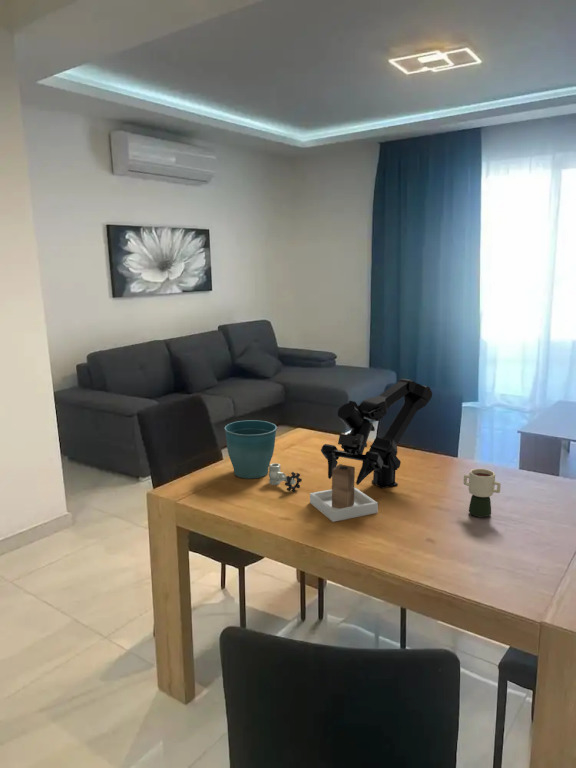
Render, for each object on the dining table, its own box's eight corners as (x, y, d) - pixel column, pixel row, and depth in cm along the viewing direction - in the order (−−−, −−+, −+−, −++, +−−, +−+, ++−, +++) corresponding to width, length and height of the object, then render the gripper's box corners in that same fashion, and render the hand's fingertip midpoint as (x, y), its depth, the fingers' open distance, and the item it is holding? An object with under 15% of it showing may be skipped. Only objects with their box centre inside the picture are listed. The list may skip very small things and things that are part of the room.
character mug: (502, 515, 169) (505, 473, 166) (493, 523, 164) (496, 480, 161) (466, 505, 176) (469, 465, 173) (456, 513, 171) (459, 471, 168)
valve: (263, 484, 194) (286, 494, 186) (263, 465, 193) (286, 475, 184) (278, 479, 199) (301, 489, 190) (278, 461, 197) (302, 470, 188)
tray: (352, 494, 185) (352, 485, 184) (377, 512, 171) (377, 502, 171) (309, 502, 179) (309, 493, 178) (332, 521, 166) (333, 511, 165)
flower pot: (286, 470, 207) (286, 424, 203) (257, 486, 192) (256, 437, 189) (246, 461, 216) (245, 417, 213) (215, 476, 202) (213, 429, 198)
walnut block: (339, 501, 178) (339, 463, 176) (354, 504, 176) (354, 466, 173) (331, 506, 174) (332, 468, 172) (346, 510, 172) (347, 471, 169)
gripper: (323, 418, 179) (306, 463, 172) (380, 427, 169) (364, 474, 162) (334, 436, 187) (318, 480, 180) (389, 445, 178) (374, 491, 171)
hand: (342, 481), depth 173 cm, fingers open, 9 cm apart
